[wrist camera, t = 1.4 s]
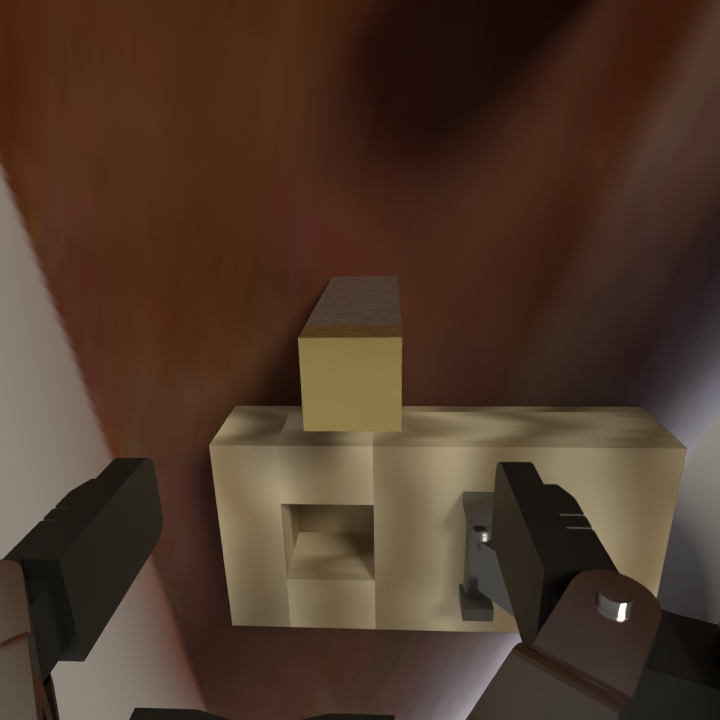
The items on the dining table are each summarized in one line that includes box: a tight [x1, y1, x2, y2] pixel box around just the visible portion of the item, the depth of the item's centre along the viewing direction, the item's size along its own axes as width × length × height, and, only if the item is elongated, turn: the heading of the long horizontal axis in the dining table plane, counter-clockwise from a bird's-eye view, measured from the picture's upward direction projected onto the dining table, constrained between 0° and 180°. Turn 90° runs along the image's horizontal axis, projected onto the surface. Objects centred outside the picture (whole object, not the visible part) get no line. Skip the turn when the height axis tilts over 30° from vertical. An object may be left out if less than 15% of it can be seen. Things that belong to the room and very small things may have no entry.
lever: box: [463, 524, 515, 618], centre depth 24 cm, size 11×4×1 cm
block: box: [209, 406, 687, 633], centre depth 30 cm, size 24×12×7 cm, turn 91°
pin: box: [298, 276, 402, 432], centre depth 24 cm, size 4×4×12 cm
